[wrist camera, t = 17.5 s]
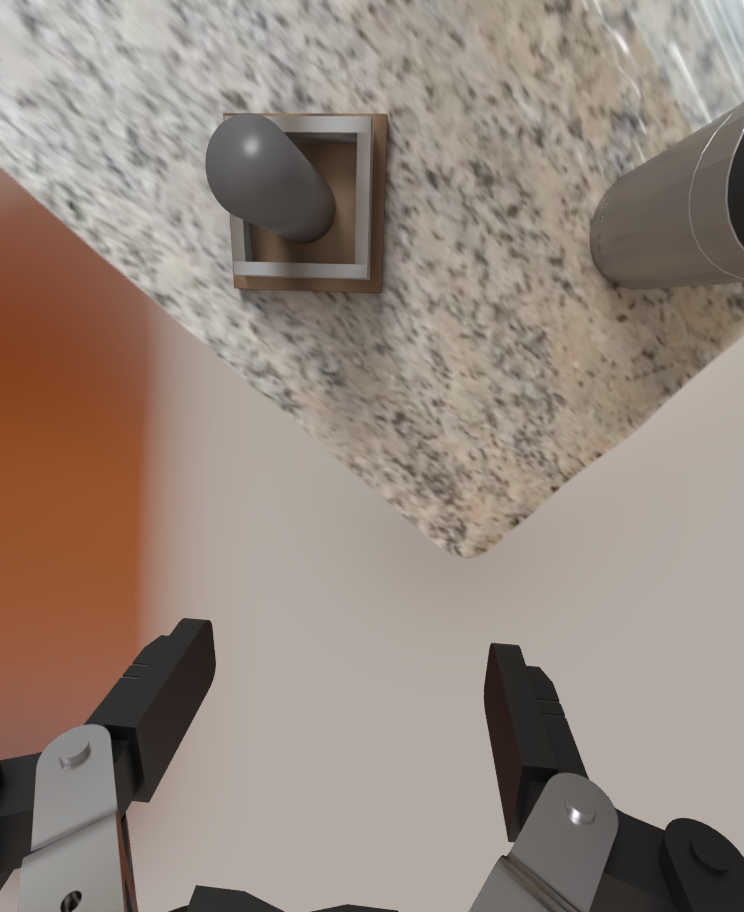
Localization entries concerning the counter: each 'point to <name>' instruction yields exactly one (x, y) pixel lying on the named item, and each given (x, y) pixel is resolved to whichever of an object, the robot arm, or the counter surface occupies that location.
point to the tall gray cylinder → (268, 179)
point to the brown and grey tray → (356, 216)
